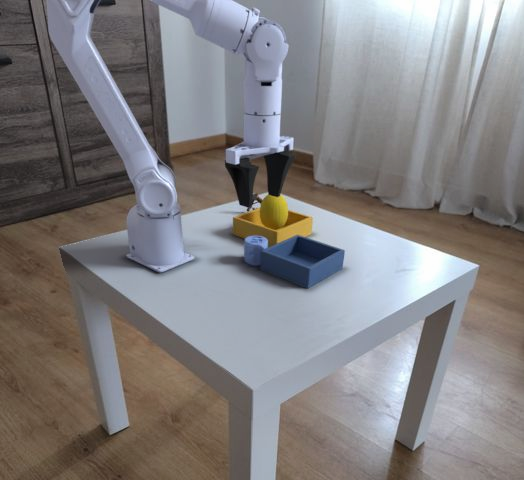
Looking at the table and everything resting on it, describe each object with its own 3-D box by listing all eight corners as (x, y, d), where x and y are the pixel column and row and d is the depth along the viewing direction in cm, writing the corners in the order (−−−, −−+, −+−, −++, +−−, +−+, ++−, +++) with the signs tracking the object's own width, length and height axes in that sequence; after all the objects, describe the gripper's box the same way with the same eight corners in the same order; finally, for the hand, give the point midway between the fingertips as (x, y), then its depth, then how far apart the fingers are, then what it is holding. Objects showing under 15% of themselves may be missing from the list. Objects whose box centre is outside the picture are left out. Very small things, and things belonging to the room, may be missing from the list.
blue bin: (260, 269, 84) (260, 250, 82) (296, 252, 91) (297, 234, 89) (308, 288, 79) (309, 268, 77) (342, 268, 85) (345, 250, 83)
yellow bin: (232, 234, 97) (232, 217, 95) (268, 220, 104) (269, 204, 102) (276, 250, 91) (277, 232, 89) (311, 234, 98) (313, 217, 96)
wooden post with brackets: (245, 206, 108) (253, 188, 105) (275, 226, 108) (284, 208, 105) (241, 209, 107) (250, 191, 104) (272, 228, 107) (281, 211, 104)
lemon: (284, 238, 95) (286, 197, 90) (256, 235, 96) (257, 194, 91) (289, 228, 99) (291, 188, 95) (262, 225, 100) (263, 186, 96)
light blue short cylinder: (244, 265, 85) (244, 243, 83) (244, 256, 89) (244, 235, 86) (267, 266, 85) (267, 244, 83) (266, 256, 89) (267, 235, 86)
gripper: (250, 122, 69) (249, 216, 76) (310, 111, 78) (304, 196, 86) (214, 115, 72) (217, 206, 80) (276, 105, 82) (272, 187, 89)
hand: (260, 200), depth 83 cm, fingers open, 7 cm apart
